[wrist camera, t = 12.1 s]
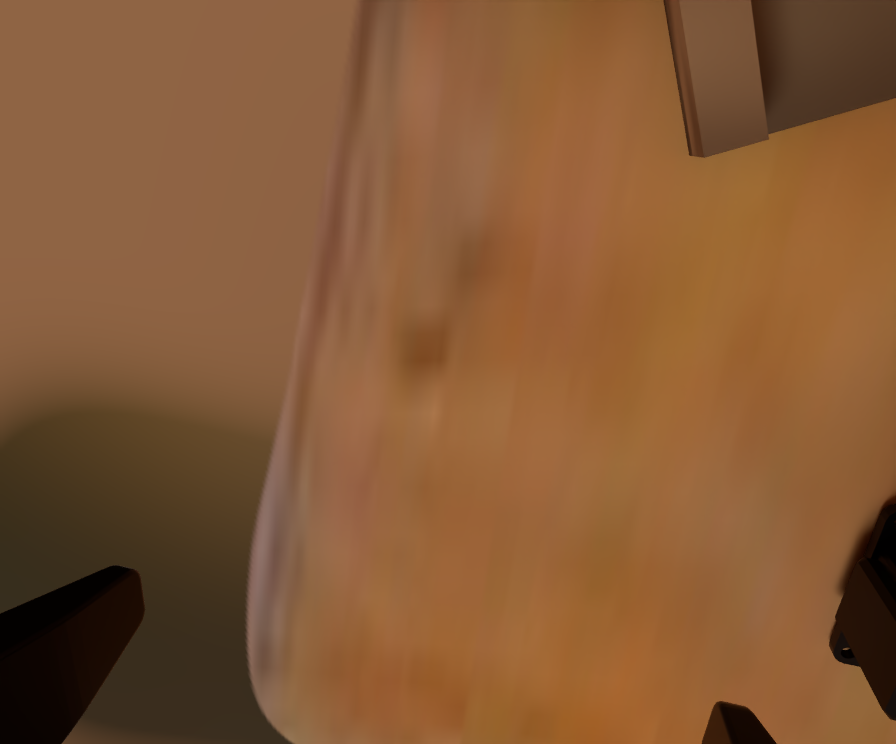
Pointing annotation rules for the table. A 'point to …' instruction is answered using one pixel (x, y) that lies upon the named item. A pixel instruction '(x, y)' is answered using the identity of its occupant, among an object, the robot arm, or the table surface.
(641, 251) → the table surface
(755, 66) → the walnut u rest
